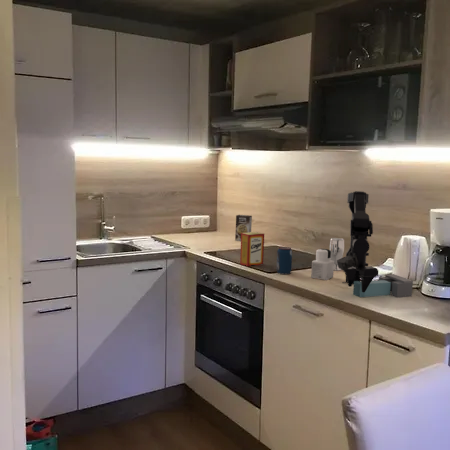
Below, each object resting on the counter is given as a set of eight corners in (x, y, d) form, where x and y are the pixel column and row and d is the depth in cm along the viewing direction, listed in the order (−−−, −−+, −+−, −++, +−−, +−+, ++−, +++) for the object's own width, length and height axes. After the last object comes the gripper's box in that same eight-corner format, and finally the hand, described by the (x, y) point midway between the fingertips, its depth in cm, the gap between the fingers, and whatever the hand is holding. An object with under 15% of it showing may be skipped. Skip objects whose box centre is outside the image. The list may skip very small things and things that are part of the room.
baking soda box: (247, 266, 267) (248, 234, 264) (240, 263, 272) (241, 232, 270) (263, 264, 272) (264, 233, 270) (255, 262, 277) (256, 231, 275)
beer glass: (325, 269, 265) (327, 238, 263) (332, 267, 270) (334, 237, 268) (338, 271, 261) (340, 240, 259) (345, 269, 266) (347, 239, 264)
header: (378, 292, 222) (379, 274, 221) (392, 291, 225) (393, 274, 224) (396, 300, 211) (398, 281, 210) (411, 298, 213) (412, 280, 213)
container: (317, 274, 252) (318, 247, 250) (333, 277, 248) (334, 249, 246) (310, 277, 246) (312, 249, 244) (327, 280, 241) (328, 251, 240)
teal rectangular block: (353, 294, 214) (353, 281, 213) (383, 292, 219) (383, 279, 218) (359, 297, 209) (360, 284, 209) (390, 295, 214) (391, 282, 214)
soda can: (294, 273, 254) (295, 247, 253) (285, 275, 249) (287, 249, 247) (281, 270, 259) (282, 245, 257) (273, 273, 253) (274, 247, 252)
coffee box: (234, 240, 344) (235, 215, 342) (237, 239, 350) (238, 214, 348) (248, 241, 342) (249, 216, 340) (251, 240, 348) (252, 215, 346)
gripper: (328, 246, 215) (326, 284, 217) (354, 254, 198) (352, 296, 200) (352, 245, 219) (350, 283, 221) (380, 253, 201) (377, 294, 203)
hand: (356, 289), depth 211 cm, fingers open, 9 cm apart
